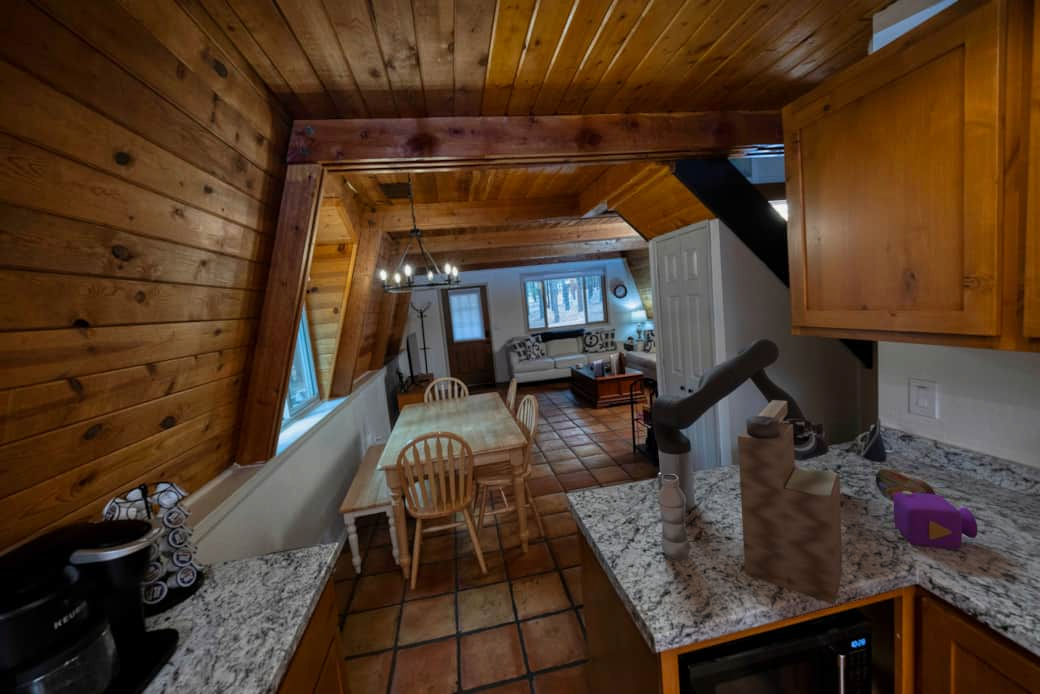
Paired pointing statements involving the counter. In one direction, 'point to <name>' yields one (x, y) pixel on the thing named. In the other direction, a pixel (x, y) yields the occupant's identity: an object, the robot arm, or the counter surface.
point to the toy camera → (932, 520)
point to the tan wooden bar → (767, 420)
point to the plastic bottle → (673, 518)
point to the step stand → (789, 518)
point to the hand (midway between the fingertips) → (785, 421)
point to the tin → (900, 483)
